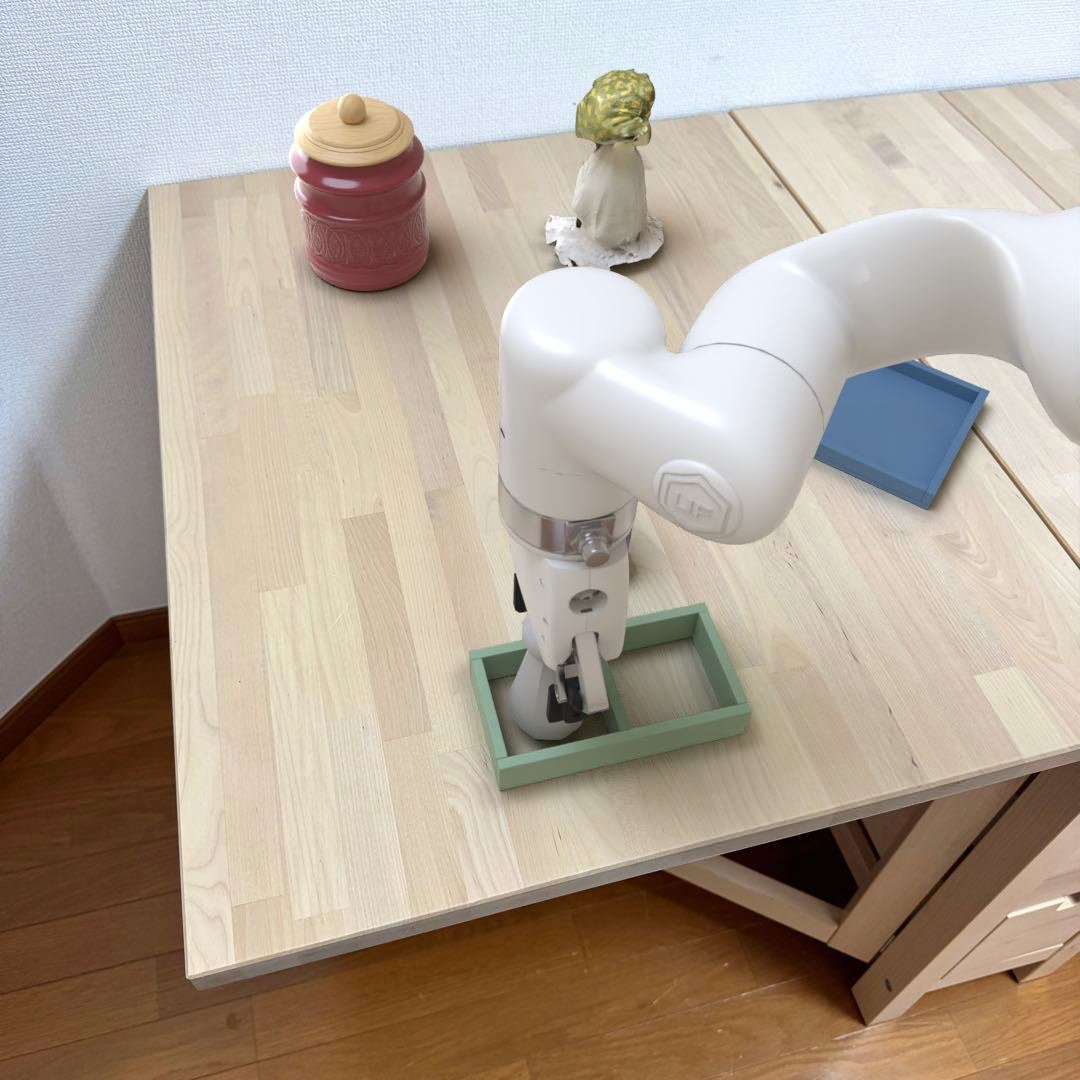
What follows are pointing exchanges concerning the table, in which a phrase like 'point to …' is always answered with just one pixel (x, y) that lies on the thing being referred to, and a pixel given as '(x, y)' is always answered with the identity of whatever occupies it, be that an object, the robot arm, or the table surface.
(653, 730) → the frame
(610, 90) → the mushroom
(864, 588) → the table surface
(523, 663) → the salt shaker
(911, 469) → the tray
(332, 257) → the kitchen canister
